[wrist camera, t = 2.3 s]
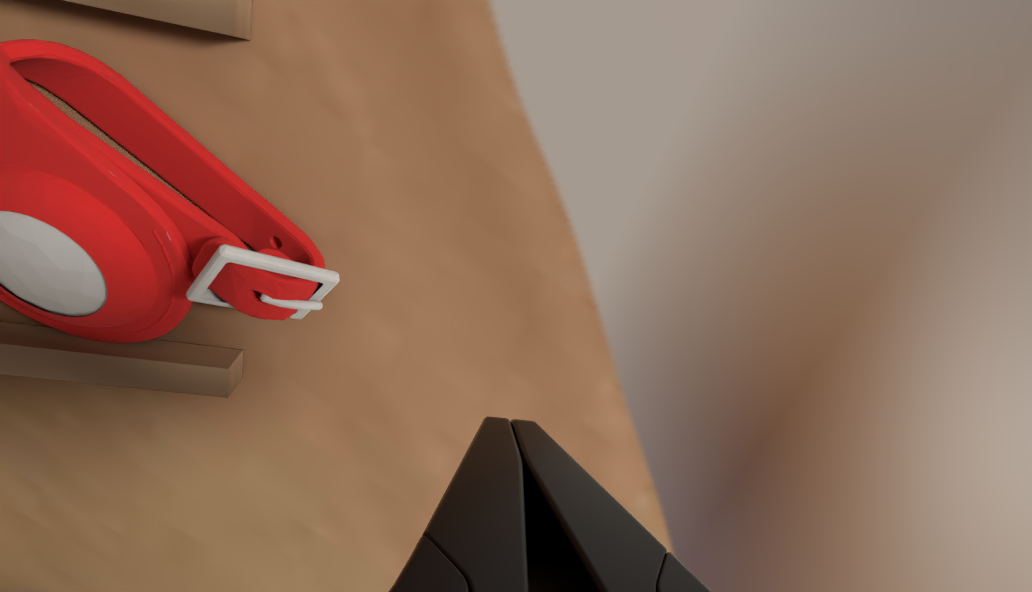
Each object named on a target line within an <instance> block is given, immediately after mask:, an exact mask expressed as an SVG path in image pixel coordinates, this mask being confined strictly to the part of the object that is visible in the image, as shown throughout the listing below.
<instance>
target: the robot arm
mask: <svg viewBox="0 0 1032 592" xmlns="http://www.w3.org/2000/svg"><path fill="white" fill-rule="evenodd" d="M666 552H667V550H666V548H665V547H664V546H663V545H662V544H661V543H660V542H659V541H658V540H657V539H656V538H655V537H654V536H653V535H652V534H651V533H650V532H648V531H647V530H646V529H645V528H644V527H643V526H642V525H641V524H640V523H639V522H638V521H637V520H636V519H635V518H634V517H633V516H632V515H631V514H630V513H629V512H628V511H627V510H626V509H625V508H624V507H623V506H622V505H621V504H619V503H618V502H617V501H616V500H615V499H614V498H613V497H612V496H611V495H610V494H609V493H608V492H607V491H606V490H605V489H604V488H603V487H602V486H601V485H600V484H599V483H598V482H597V481H596V480H595V479H594V478H593V477H592V476H590V475H589V474H588V473H587V472H586V471H585V470H584V469H583V468H582V467H581V466H580V465H579V464H578V463H577V462H576V461H575V460H574V459H573V458H572V457H571V456H570V455H569V454H568V453H567V452H566V451H565V450H564V449H563V448H562V447H560V446H559V445H558V444H557V443H556V442H555V441H554V440H553V439H552V438H551V437H550V436H549V435H548V434H547V433H546V432H545V431H544V430H543V429H542V428H541V427H540V426H539V425H538V424H537V423H535V422H533V421H527V420H517V419H514V420H511V422H510V421H509V420H508V419H506V418H498V417H486V418H485V419H484V420H483V422H482V424H481V426H480V428H479V430H478V431H477V433H476V435H475V437H474V439H473V441H472V443H471V445H470V446H469V448H468V450H467V452H466V454H465V456H464V458H463V460H462V461H461V463H460V465H459V467H458V469H457V471H456V473H455V475H454V477H453V478H452V480H451V482H450V484H449V486H448V488H447V490H446V492H445V493H444V495H443V497H442V499H441V501H440V503H439V505H438V507H437V508H436V510H435V512H434V514H433V516H432V518H431V520H430V522H429V524H428V525H427V527H426V529H425V531H424V533H423V535H422V537H421V538H420V540H419V542H418V543H417V545H416V547H415V549H414V551H413V553H412V555H411V556H410V558H409V560H408V562H407V563H406V565H405V567H404V568H403V570H402V572H401V573H400V575H399V577H398V578H397V580H396V582H395V583H394V585H393V586H392V588H391V589H390V591H389V592H712V591H711V590H710V589H708V588H707V587H706V586H705V585H704V584H703V583H702V582H701V581H700V580H699V579H698V578H697V577H696V576H695V575H693V574H692V573H691V572H690V571H689V570H688V569H687V568H686V567H685V566H684V565H683V564H682V563H681V562H680V561H679V560H678V559H677V558H676V557H675V556H674V555H673V554H671V553H670V552H668V553H666Z"/></svg>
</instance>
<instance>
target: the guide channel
mask: <svg viewBox="0 0 1032 592" xmlns="http://www.w3.org/2000/svg"><path fill="white" fill-rule="evenodd" d="M62 1H67V2H72V3H76V4H81V5H86V6H91V7H95V8H100V9H105V10H110V11H114V12H119V13H124V14H129V15H133V16H138V17H143V18H148V19H152V20H157V21H162V22H167V23H171V24H176V25H181V26H186V27H190V28H195V29H200V30H205V31H209V32H214V33H219V34H224V35H228V36H233V37H238V38H243V39H247V40H251V21H252V0H62ZM0 374H1V375H11V376H21V377H31V378H40V379H50V380H60V381H70V382H79V383H89V384H99V385H109V386H118V387H128V388H138V389H148V390H157V391H167V392H177V393H187V394H196V395H206V396H216V397H226V398H228V397H229V395H230V394H231V392H232V391H233V390H234V388H235V387H236V386H237V384H238V383H239V381H240V380H241V379H242V377H243V350H239V349H230V348H222V347H213V346H205V345H196V344H188V343H179V342H171V341H162V340H154V339H151V340H147V341H141V342H134V343H112V342H101V341H95V340H90V339H85V338H82V337H78V336H74V335H71V334H68V333H65V332H63V331H60V330H57V329H55V328H51V327H43V326H34V325H26V324H17V323H9V322H0Z"/></svg>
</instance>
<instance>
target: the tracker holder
mask: <svg viewBox="0 0 1032 592" xmlns="http://www.w3.org/2000/svg"><path fill="white" fill-rule="evenodd" d="M24 78H25V79H28V80H30V81H33V82H35V83H37V84H39V85H41V86H43V87H44V88H46V89H47V90H49V91H50V92H52V93H53V94H55V95H56V96H58V97H59V98H61V99H62V100H64V101H65V102H67V103H68V104H69V105H70V106H72V107H73V108H74V109H76V110H77V111H78V112H79V113H81V114H82V115H83V116H84V117H86V118H87V119H88V120H89V121H91V122H92V123H93V124H95V125H96V126H97V127H98V128H100V129H101V130H102V131H103V132H105V133H106V134H107V135H108V136H110V137H111V138H112V139H114V140H115V141H116V142H117V143H119V144H120V145H121V146H122V147H124V148H125V149H126V150H127V151H129V152H130V153H131V154H133V155H134V156H135V157H136V158H138V159H139V160H140V161H141V162H143V163H144V164H145V165H146V166H148V167H149V168H150V169H152V170H153V171H154V172H155V173H157V174H158V175H159V176H160V177H162V178H163V179H164V180H165V181H167V182H168V183H169V184H171V185H172V186H173V187H174V188H176V189H177V190H178V191H179V192H181V193H182V194H183V195H185V196H186V197H187V198H188V199H190V200H191V201H192V202H193V203H195V204H196V205H197V206H198V207H200V208H201V209H202V210H204V211H205V212H206V213H207V214H209V215H210V216H211V217H212V218H211V217H210V216H208V215H207V214H206V213H204V212H203V211H201V210H200V209H199V208H197V207H196V206H194V205H193V204H192V203H190V202H189V201H187V200H186V199H184V198H183V197H182V196H180V195H179V194H177V193H176V192H175V191H173V190H172V189H170V188H169V187H167V186H166V185H165V184H163V183H162V182H160V181H159V180H158V179H156V178H155V177H153V176H152V175H151V174H149V173H148V172H146V171H145V170H143V169H142V168H141V167H139V166H138V165H136V164H135V163H134V162H132V161H131V160H129V159H128V158H126V157H125V156H124V155H122V154H121V153H119V152H118V151H117V150H115V149H114V148H112V147H111V146H110V145H108V144H107V143H105V142H104V141H102V140H101V139H100V138H98V137H97V136H95V135H94V134H93V133H91V132H90V131H88V130H87V129H85V128H84V127H83V126H81V125H80V124H78V123H77V122H76V121H74V120H73V119H71V118H70V117H68V116H67V115H66V114H65V113H64V112H63V111H61V110H60V109H59V108H58V107H57V106H56V105H54V104H53V103H52V102H51V101H50V100H48V99H47V98H46V97H45V96H44V95H43V94H41V93H40V92H39V91H38V90H37V89H36V88H34V87H33V86H32V85H31V84H30V83H28V82H27V81H26V80H25V79H24ZM214 219H215V220H216V221H215V220H214ZM238 237H239V238H240V239H241V240H243V241H244V242H245V243H247V244H248V245H250V246H251V247H252V248H253V249H254V250H255V251H256V252H254V251H250V250H249V249H248V248H247V247H246V246H245V245H244V244H243V243H242V241H241V240H240V239H239V238H238ZM339 281H340V279H339V274H338V273H337V272H335V271H331V270H327V269H325V265H324V259H323V256H322V255H321V253H320V252H319V250H318V249H317V247H316V246H315V245H314V243H313V242H312V240H311V239H310V238H309V237H308V236H307V235H306V234H305V233H304V232H303V231H302V230H301V229H299V228H298V227H297V226H296V225H295V224H294V223H293V222H291V221H290V220H289V219H288V218H287V217H286V216H284V215H283V214H282V213H281V212H280V211H279V210H278V209H276V208H275V207H274V206H273V205H272V204H270V203H269V202H268V201H267V200H265V199H264V198H263V197H262V196H261V195H259V194H258V193H257V192H256V191H255V190H253V189H252V188H251V187H250V186H249V185H247V184H246V183H245V182H244V181H243V180H242V179H240V178H239V177H238V176H237V175H236V174H235V173H234V172H232V171H231V170H230V169H229V168H228V167H227V166H225V165H224V164H223V163H222V162H221V161H220V160H219V159H217V158H216V157H215V156H214V155H213V154H212V153H210V152H209V151H208V150H207V149H206V148H205V147H204V146H202V145H201V144H200V143H199V142H198V141H197V140H195V139H194V138H193V137H192V136H191V135H190V134H188V133H187V132H186V131H185V130H184V129H183V128H182V127H180V126H179V125H178V124H177V123H176V122H175V121H173V120H172V119H171V118H170V117H169V116H168V115H167V114H165V113H164V112H163V111H162V110H161V109H160V108H158V107H157V106H156V105H155V104H154V103H153V102H152V101H150V100H149V99H148V98H147V97H146V96H145V95H143V94H142V93H141V92H140V91H139V90H138V89H137V88H135V87H134V86H133V85H132V84H131V83H130V82H128V81H127V80H126V79H125V78H124V77H123V76H121V75H120V74H119V73H117V72H116V71H114V70H113V69H111V68H110V67H109V66H107V65H106V64H104V63H103V62H101V61H100V60H98V59H96V58H94V57H92V56H90V55H88V54H86V53H84V52H82V51H80V50H77V49H74V48H71V47H69V46H66V45H63V44H60V43H55V42H50V41H41V40H31V39H20V40H11V41H5V42H0V301H2V302H4V303H5V304H7V305H9V306H11V307H12V308H14V309H16V310H17V311H19V312H21V313H22V314H24V315H26V316H28V317H30V318H32V319H34V320H36V321H38V322H40V323H42V324H44V325H47V326H50V327H52V328H55V329H57V330H60V331H63V332H65V333H68V334H71V335H74V336H78V337H82V338H85V339H90V340H95V341H101V342H112V343H134V342H141V341H147V340H151V339H155V338H158V337H161V336H162V335H164V334H166V333H168V332H170V331H171V330H172V329H173V328H175V327H176V326H177V325H178V324H179V323H180V322H181V321H182V320H183V318H184V317H185V316H186V315H187V313H188V312H189V311H190V309H191V306H192V304H193V302H199V303H205V304H211V305H217V306H223V307H229V308H235V309H237V310H238V311H240V312H242V313H245V314H247V315H250V316H252V317H256V318H261V319H271V320H284V319H287V318H294V319H302V318H303V317H304V316H305V315H306V314H307V313H308V312H309V311H310V310H320V309H322V307H323V304H322V303H321V302H320V300H321V299H322V298H323V297H324V296H325V295H326V294H327V293H328V292H329V291H330V290H331V289H332V288H333V287H334V286H335V285H336V284H337V283H338V282H339ZM207 288H208V289H207Z"/></svg>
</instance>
